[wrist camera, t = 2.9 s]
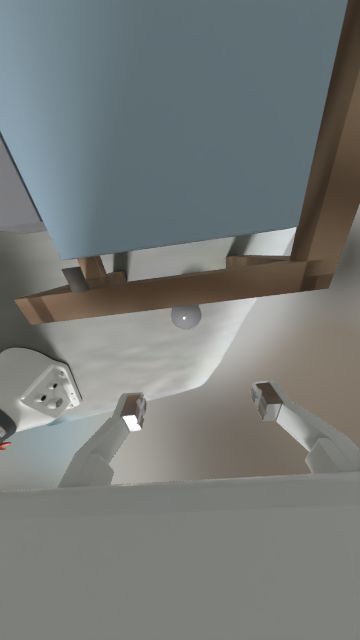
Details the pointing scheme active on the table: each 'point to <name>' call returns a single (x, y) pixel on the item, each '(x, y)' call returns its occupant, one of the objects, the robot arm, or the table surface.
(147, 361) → the table surface
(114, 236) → the trapdoor
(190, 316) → the gray cylinder
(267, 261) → the stand
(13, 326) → the table surface
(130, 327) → the table surface
